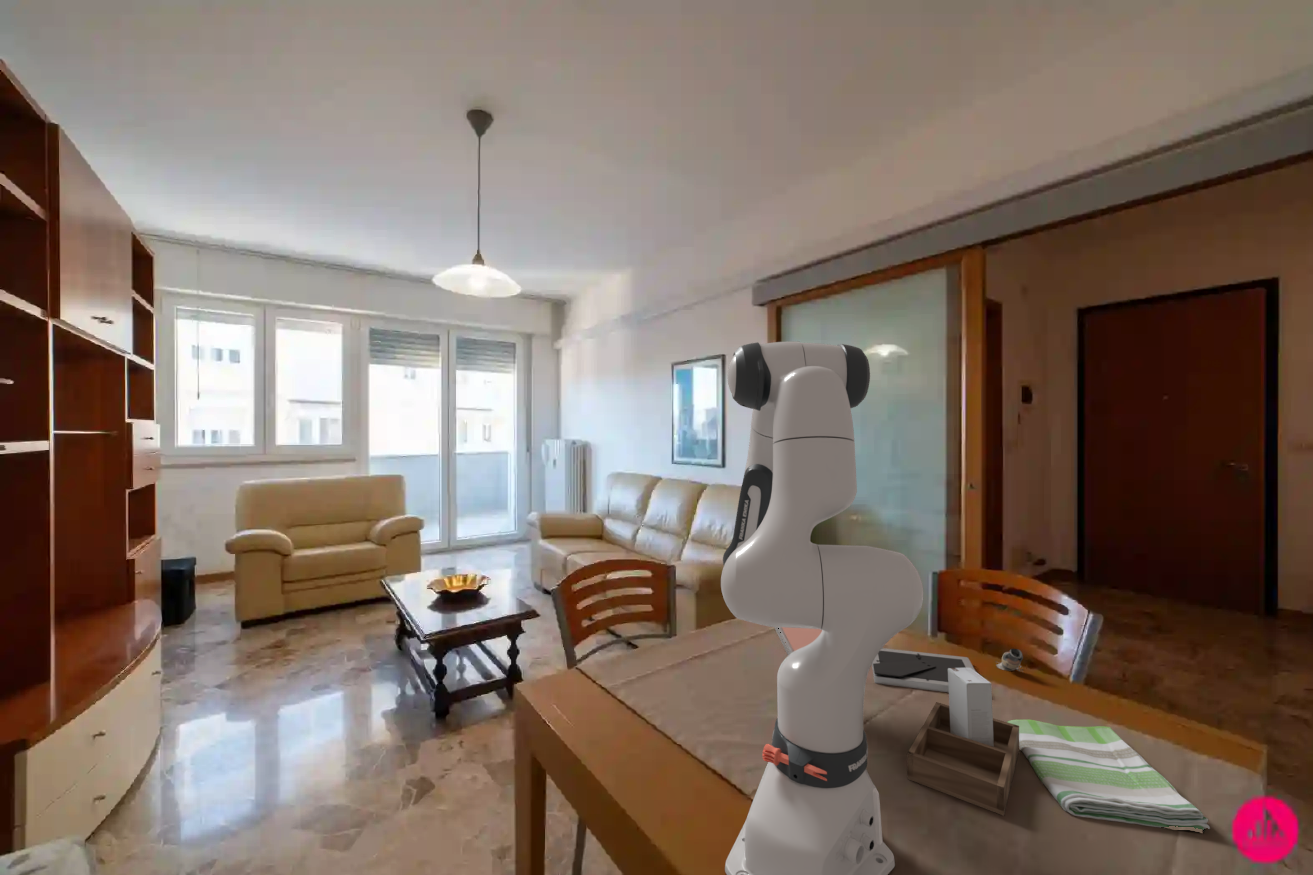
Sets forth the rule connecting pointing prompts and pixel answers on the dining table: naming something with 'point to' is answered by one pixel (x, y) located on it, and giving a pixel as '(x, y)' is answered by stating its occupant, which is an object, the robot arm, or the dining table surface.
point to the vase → (1011, 660)
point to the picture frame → (916, 669)
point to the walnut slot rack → (964, 761)
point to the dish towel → (1103, 776)
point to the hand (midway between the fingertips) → (886, 598)
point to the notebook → (797, 637)
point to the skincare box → (970, 705)
